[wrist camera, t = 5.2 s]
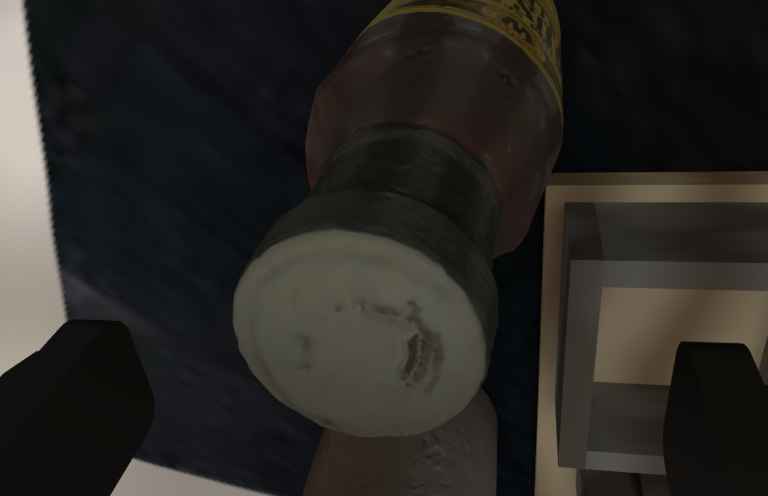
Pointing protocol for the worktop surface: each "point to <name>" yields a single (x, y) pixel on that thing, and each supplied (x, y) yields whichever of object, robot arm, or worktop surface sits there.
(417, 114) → the sauce bottle
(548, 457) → the socket board
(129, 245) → the worktop surface
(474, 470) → the pillar candle
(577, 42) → the worktop surface
